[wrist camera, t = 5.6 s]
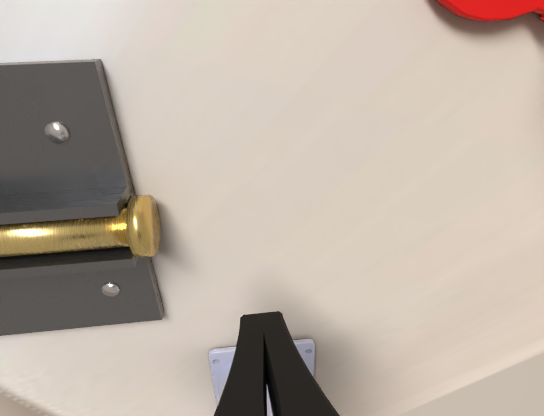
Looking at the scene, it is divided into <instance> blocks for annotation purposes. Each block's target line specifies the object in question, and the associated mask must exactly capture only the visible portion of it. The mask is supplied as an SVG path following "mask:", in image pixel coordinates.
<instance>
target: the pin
mask: <svg viewBox="0 0 544 416" xmlns="http://www.w3.org/2000/svg"><path fill="white" fill-rule="evenodd" d="M159 243H160V222H159V214H158V209H157V205H156V202H155V200H154V198H153V197H152V196H151V195H144V196H133V197H131V198H130V200H129V203H128V206H127V208H123V210H122V212H121V214H120V216H109V217H95V218H82V219H69V220H56V221H42V222H29V223H16V224H3V225H0V257H9V256H22V255H34V254H46V253H58V252H70V251H82V250H94V249H106V248H118V247H130V249H131V251H132V253H133V255H134V256H135V257H137V258H139V257H150V256H155V255H156V254H157V252H158V249H159Z"/></svg>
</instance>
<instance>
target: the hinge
mask: <svg viewBox="0 0 544 416" xmlns="http://www.w3.org/2000/svg"><path fill="white" fill-rule="evenodd" d="M133 196H135V194H134V190H133V186H132V182H131V178H130V174H129V170H128V166H127V162H126V158H125V154H124V150H123V146H122V142H121V138H120V134H119V130H118V126H117V122H116V118H115V114H114V110H113V106H112V102H111V98H110V94H109V90H108V86H107V82H106V78H105V74H104V70H103V66H102V62H101V59H93V60H68V61H43V62H18V63H0V225H3V224H16V223H29V222H42V221H56V220H69V219H82V218H95V217H109V216H120V214H121V212H122V210H123V208H127V206H128V203H129V200H130V198H131V197H133ZM163 312H164V309H163V305H162V301H161V297H160V293H159V289H158V285H157V281H156V277H155V273H154V269H153V265H152V261H151V257H139V258H137V257H135V256H134V255H133V253H132V251H131V249H130V247H118V248H106V249H94V250H82V251H70V252H58V253H46V254H34V255H22V256H9V257H0V336H2V335H12V334H22V333H32V332H42V331H52V330H62V329H72V328H82V327H92V326H102V325H112V324H122V323H132V322H142V321H152V320H162V317H163Z"/></svg>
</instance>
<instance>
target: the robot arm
mask: <svg viewBox="0 0 544 416" xmlns="http://www.w3.org/2000/svg"><path fill="white" fill-rule="evenodd" d="M208 358H209V363H210V369H211V374H212V380H213V385H214V391H215V397H216V402H217V409H216V411H215V414H214V416H339V414H338V413H337V411H336V410H335V409H334V407H333V406H332V405H331V403H330V402H329V400H328V399H327V397H326V396H325V394H324V393H323V392H322V390H321V388H320V387H319V385H318V384H317V382H316V381H315V379H314V378H313V377H314V358H315V343H314V340H312V339H300V340H292V337H291V335H290V333H289V331H288V329H287V326H286V324H285V321H284V318H283V315H282V313H281V312H279V311H278V312H268V313H259V314H249V315H243V316H242V317H241V318H240V330H239V336H238V341H237V345H236V346H235V347H226V348H217V349H212V350H210V351H209V357H208Z"/></svg>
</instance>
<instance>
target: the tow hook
mask: <svg viewBox="0 0 544 416" xmlns="http://www.w3.org/2000/svg"><path fill="white" fill-rule="evenodd" d="M437 1H438V2H439V3H440V4H441V5H442V6H444V7H445V8H447V9H448V10H450V11H451V12H452V13H454V14H455V15H457V16H461V17H464V18H468V19H472V20H475V21H496V20H509V19H512V18H515V17H518V16H521V15H524V14H527V13H530V12H535V13H538V14H541V17H540V19H541V20H542V21H544V0H437Z"/></svg>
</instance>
